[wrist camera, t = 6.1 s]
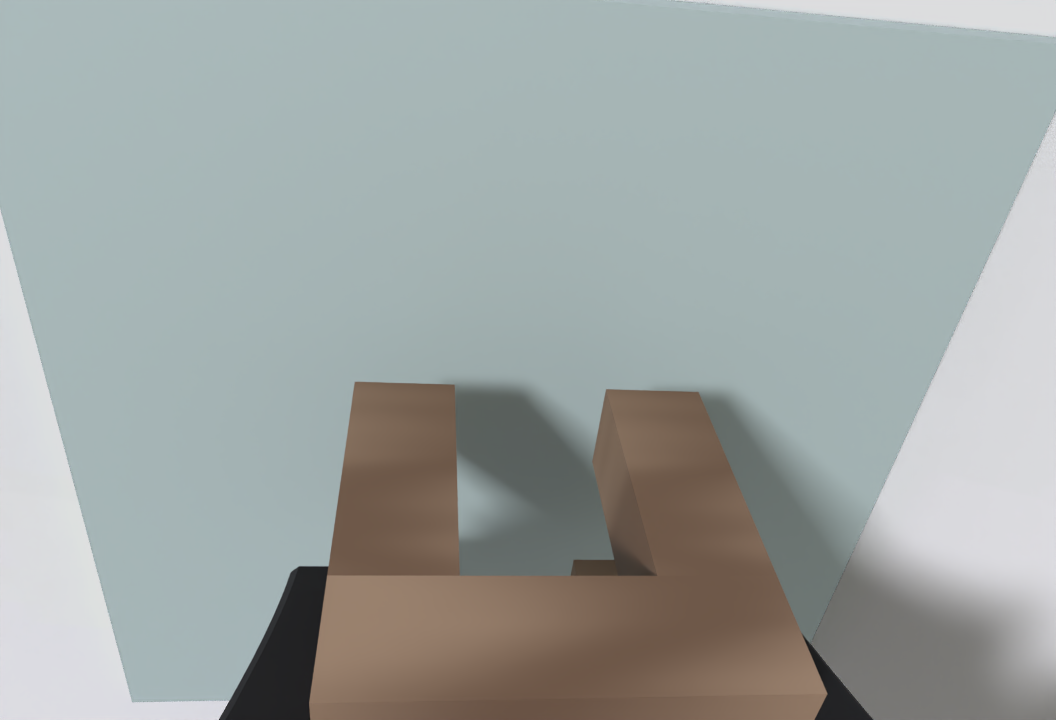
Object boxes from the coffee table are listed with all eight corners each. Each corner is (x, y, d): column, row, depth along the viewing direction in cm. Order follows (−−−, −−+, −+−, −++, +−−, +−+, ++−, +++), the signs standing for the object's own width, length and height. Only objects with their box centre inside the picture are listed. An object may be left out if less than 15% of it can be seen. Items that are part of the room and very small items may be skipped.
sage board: (781, 672, 20) (788, 690, 20) (138, 681, 19) (132, 702, 18) (1063, 38, 12) (1085, 46, 12) (-52, -70, 10) (-73, -64, 10)
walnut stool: (698, 391, 12) (827, 693, 8) (639, 613, 15) (713, 921, 11) (354, 381, 12) (308, 703, 8) (358, 614, 14) (327, 941, 10)
